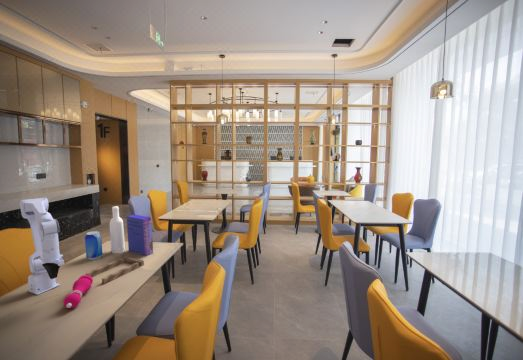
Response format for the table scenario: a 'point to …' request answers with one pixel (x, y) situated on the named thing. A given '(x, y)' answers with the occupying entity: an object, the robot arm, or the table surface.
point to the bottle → (117, 232)
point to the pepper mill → (78, 291)
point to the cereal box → (140, 234)
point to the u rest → (133, 261)
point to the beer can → (93, 245)
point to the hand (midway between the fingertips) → (53, 277)
